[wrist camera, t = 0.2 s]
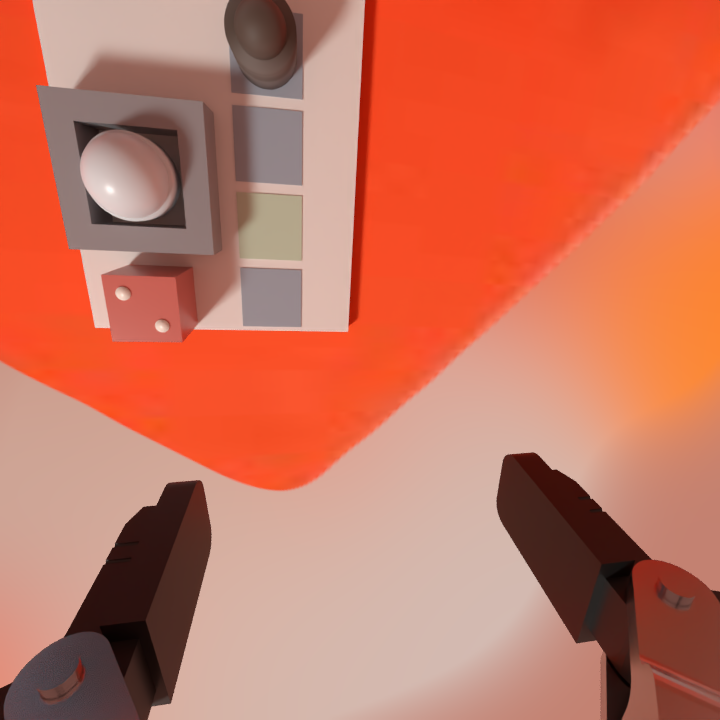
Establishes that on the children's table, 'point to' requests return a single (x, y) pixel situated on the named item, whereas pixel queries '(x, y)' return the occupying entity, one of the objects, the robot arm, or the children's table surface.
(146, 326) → the die
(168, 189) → the dome
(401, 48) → the children's table surface
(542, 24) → the children's table surface
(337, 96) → the game board
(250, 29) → the pawn
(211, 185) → the dome housing
